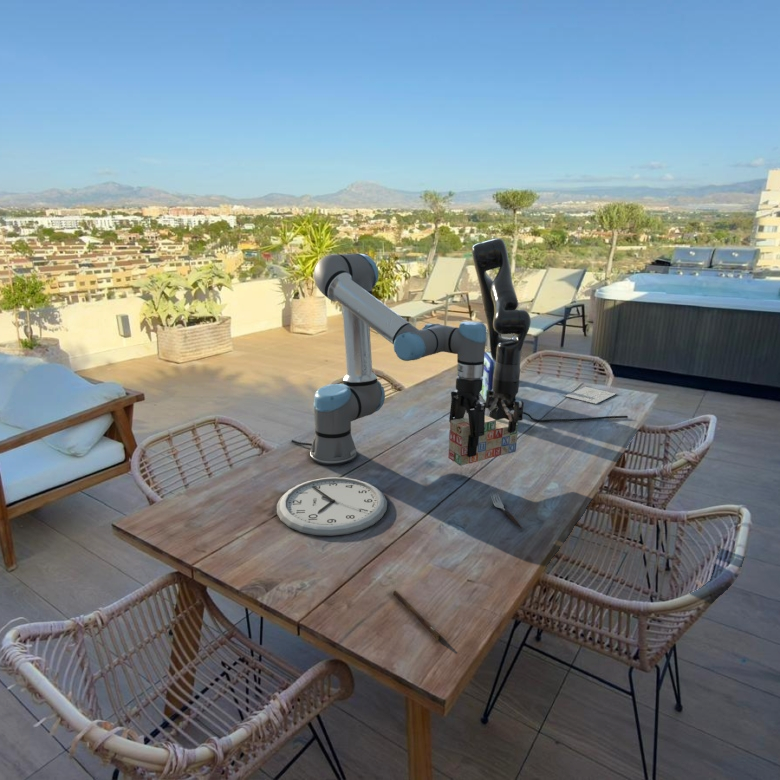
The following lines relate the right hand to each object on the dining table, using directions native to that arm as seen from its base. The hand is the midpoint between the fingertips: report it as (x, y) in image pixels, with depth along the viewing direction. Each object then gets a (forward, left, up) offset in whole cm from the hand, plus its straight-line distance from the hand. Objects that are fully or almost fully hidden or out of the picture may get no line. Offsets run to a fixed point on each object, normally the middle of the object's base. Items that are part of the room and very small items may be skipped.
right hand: (502, 427), depth 160 cm
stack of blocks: (+7, +2, -8) cm, 10 cm away
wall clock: (+54, +10, -15) cm, 57 cm away
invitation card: (-77, -63, -15) cm, 100 cm away
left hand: (+13, +4, -5) cm, 15 cm away
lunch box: (-29, -67, -15) cm, 74 cm away
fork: (+9, +25, -15) cm, 30 cm away
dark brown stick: (+44, +56, -15) cm, 73 cm away
